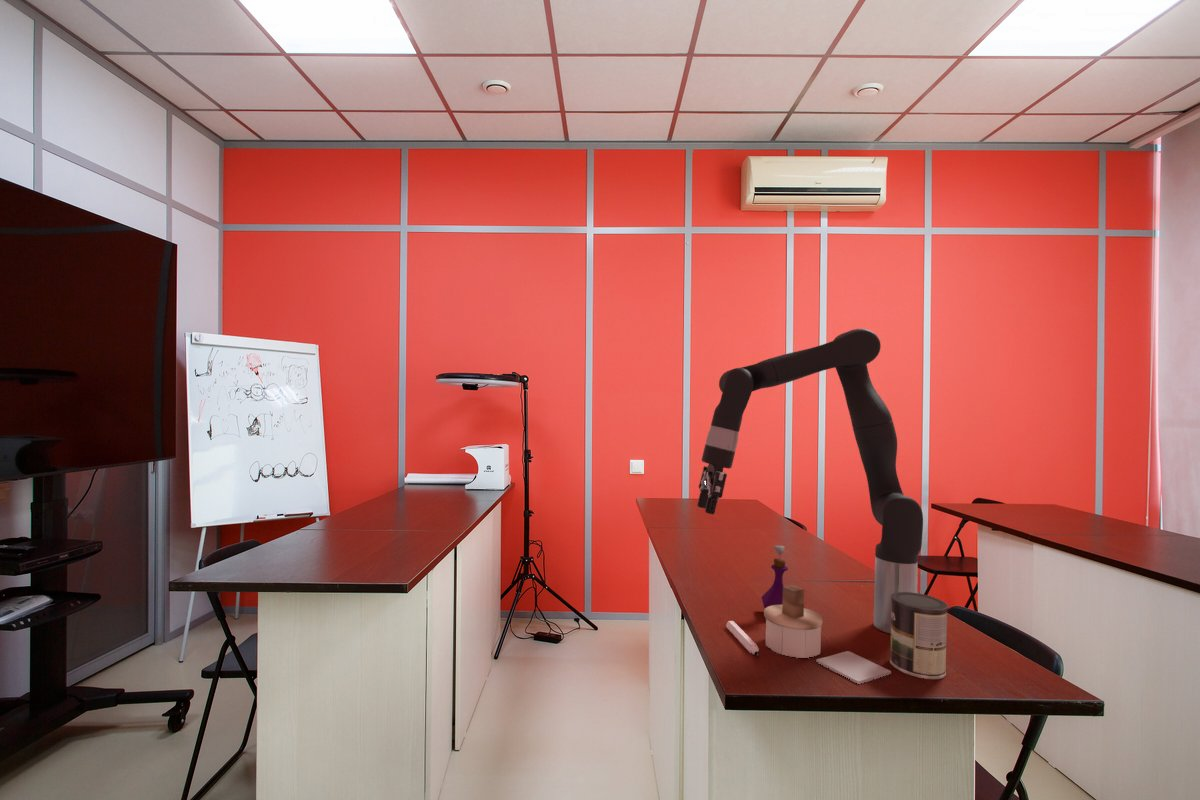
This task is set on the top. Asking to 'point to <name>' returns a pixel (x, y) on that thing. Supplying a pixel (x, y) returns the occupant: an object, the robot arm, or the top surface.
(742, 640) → the marker
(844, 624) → the top surface
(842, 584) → the top surface
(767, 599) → the perfume bottle
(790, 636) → the pot
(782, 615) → the lid
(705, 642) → the top surface
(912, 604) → the coffee can
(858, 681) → the mat
